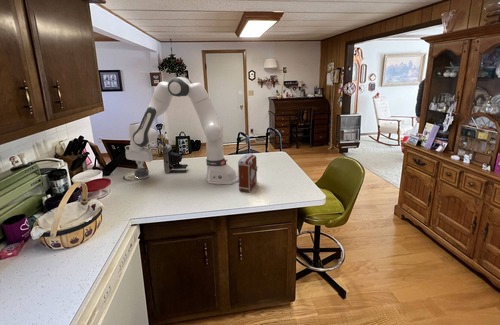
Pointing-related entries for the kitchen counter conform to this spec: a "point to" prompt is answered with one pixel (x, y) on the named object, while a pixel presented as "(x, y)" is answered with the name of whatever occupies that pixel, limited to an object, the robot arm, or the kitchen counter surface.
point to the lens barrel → (142, 174)
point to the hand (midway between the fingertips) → (140, 166)
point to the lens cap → (140, 169)
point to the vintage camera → (172, 159)
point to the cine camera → (247, 172)
